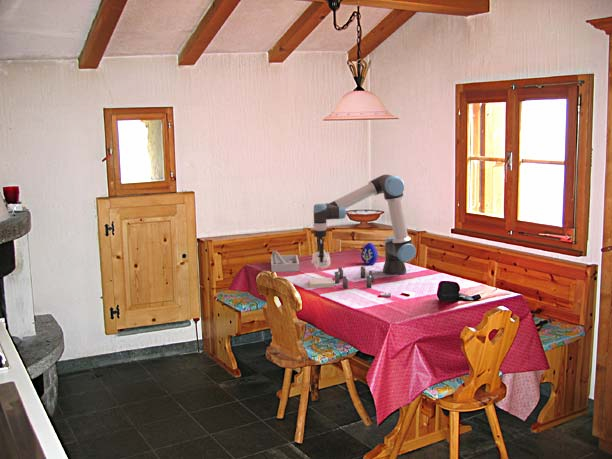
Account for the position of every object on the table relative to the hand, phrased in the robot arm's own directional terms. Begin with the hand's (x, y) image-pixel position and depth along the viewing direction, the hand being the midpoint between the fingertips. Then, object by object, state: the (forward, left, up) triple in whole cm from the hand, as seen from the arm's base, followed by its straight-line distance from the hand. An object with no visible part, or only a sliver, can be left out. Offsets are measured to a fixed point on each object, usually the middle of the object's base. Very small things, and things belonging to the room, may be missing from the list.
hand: (320, 265), depth 417 cm
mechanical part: (0, 0, -3) cm, 3 cm away
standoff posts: (-21, -2, -12) cm, 24 cm away
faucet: (+23, -53, -12) cm, 59 cm away
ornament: (-38, -53, -12) cm, 66 cm away
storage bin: (+20, -54, -12) cm, 59 cm away
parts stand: (0, 0, -12) cm, 12 cm away
